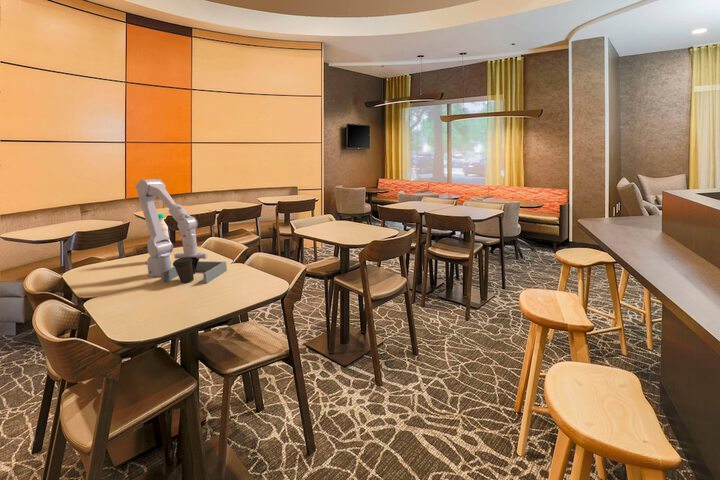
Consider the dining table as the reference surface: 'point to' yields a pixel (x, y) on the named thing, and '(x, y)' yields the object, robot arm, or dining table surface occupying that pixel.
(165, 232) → the water bottle
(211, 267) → the gray rectangular arch
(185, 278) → the coffee cup
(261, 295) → the dining table surface
